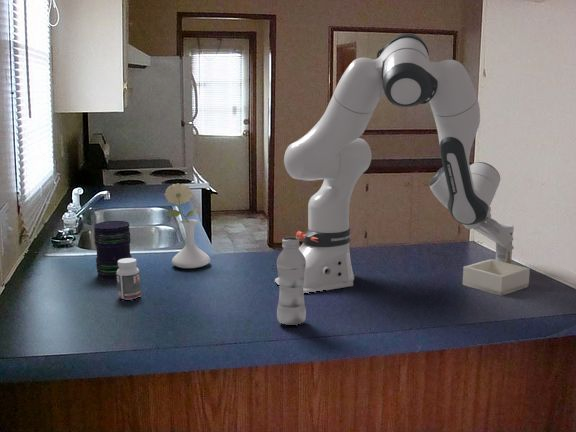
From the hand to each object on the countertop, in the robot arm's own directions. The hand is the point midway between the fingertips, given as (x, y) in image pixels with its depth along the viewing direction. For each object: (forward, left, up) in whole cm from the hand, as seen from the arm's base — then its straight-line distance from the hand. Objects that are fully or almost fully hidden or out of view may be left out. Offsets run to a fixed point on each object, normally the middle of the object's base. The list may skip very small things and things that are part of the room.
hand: (506, 246), depth 190 cm
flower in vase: (-68, +62, -7) cm, 92 cm away
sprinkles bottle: (-1, 0, -7) cm, 7 cm away
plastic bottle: (-73, +5, -7) cm, 73 cm away
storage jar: (-89, +67, -7) cm, 111 cm away
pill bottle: (-94, +46, -7) cm, 105 cm away
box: (-14, -7, -7) cm, 17 cm away
